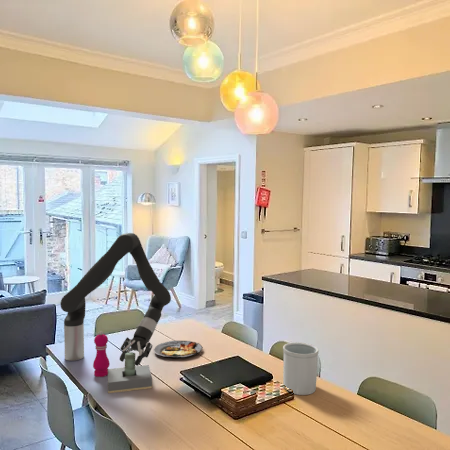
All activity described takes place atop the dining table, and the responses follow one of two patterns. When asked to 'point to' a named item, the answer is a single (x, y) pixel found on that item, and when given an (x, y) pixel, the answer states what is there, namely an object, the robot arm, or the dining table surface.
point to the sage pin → (129, 364)
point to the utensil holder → (300, 367)
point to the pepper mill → (101, 356)
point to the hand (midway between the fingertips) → (128, 362)
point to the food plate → (178, 349)
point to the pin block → (129, 379)
